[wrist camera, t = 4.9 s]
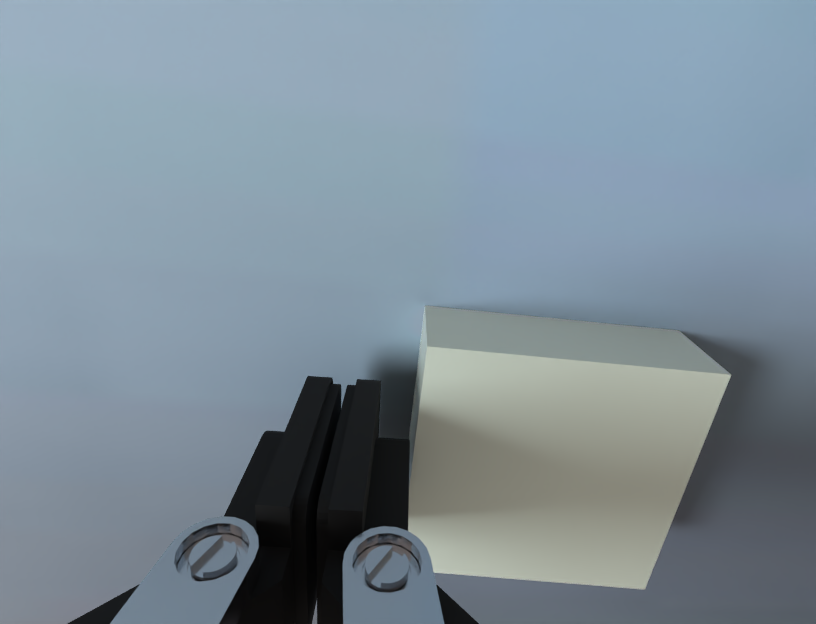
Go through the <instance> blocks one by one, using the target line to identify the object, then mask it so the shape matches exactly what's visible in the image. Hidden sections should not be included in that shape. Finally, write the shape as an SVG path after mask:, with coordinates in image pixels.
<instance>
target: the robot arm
mask: <svg viewBox="0 0 816 624" xmlns="http://www.w3.org/2000/svg"><path fill="white" fill-rule="evenodd" d="M380 391H381V381H377V380H361V379H357V382H356V385H347V389H346V393H345V397H344V400H343V404H342V408H341V384H333V379H332V378H330V377H314V376H308V377H307V379H306V381H305V384H304V386H303V389H302V391H301V394H300V396H299V398H298V401H297V403H296V406H295V408H294V411H293V413H292V415H291V418H290V420H289V423H288V425H287V428H286V430H285V432H280V431H266V432H264V434H263V435H262V437H261V439H260V441H259V444H258V446H257V448H256V450H255V452H254V454H253V456H252V458H251V460H250V463H249V465H248V467H247V469H246V471H245V473H244V475H243V477H242V479H241V482H240V484H239V486H238V488H237V490H236V492H235V494H234V496H233V498H232V500H231V503H230V505H229V507H228V509H227V511H226V513H225V515H224V516H221V517H215V518H209V519H206V520H203V521H201V522H198V523H196V524H193V525H192V526H190V527H189V528H187V529H186V530H184V531H183V532H181V533H180V534H179V535H178V536H177V537H176V538H175V539H174V541H173V542H172V543H171V544H170V545H169V547H168V548H167V549H166V551H165V552H164V553H163V554H162V556H161V557H160V558H159V560H158V561H157V562H156V564H155V565H154V566H153V568H152V569H151V570H150V572H149V573H148V574H147V576H146V577H145V578H144V579H143V581H142V582H141V583H140V584H139V585H137V586H136V587H134V588H132V589H130V590H128V591H126V592H125V593H123V594H121V595H119V596H117V597H115V598H114V599H112V600H110V601H108V602H106V603H104V604H103V605H101V606H99V607H97V608H95V609H94V610H92V611H90V612H88V613H86V614H84V615H83V616H81V617H79V618H77V619H75V620H73V621H72V622H70V623H68V624H312V620H313V615H314V610H315V605H316V600H317V624H479V623H478V622H477V621H475V620H474V619H473V618H472V617H471V616H470V615H469V614H468V613H467V612H466V611H465V610H464V609H462V608H461V607H460V606H459V605H458V604H457V603H456V602H455V601H454V600H453V599H452V598H451V597H449V596H448V595H447V594H446V593H445V592H444V591H443V590H442V589H441V588H440V587H439V586H438V585H436V581H435V576H434V572H433V567H432V562H431V557H430V555H429V552H428V550H427V547H426V546H425V545H424V544H423V542H422V541H421V540H420V539H419V538H418V537H417V536H415V535H414V534H412V533H411V532H409V531H408V510H409V464H410V440H407V439H391V438H378V433H379V412H380Z"/></svg>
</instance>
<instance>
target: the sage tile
mask: <svg viewBox="0 0 816 624" xmlns="http://www.w3.org/2000/svg"><path fill="white" fill-rule="evenodd" d="M730 377H731V374H730V373H729V372H727V371H726V370H725V369H724V368H723V367H722V366H720V365H719V364H718V363H717V362H716V361H714V360H713V359H712V358H711V357H710V356H708V355H707V354H706V353H705V352H704V351H703V350H701V349H700V348H699V347H698V346H697V345H695V344H694V343H693V342H692V341H691V340H689V339H688V338H687V337H686V336H685V335H684V334H682V333H681V332H680V331H679V330H669V329H659V328H648V327H638V326H628V325H618V324H608V323H597V322H587V321H577V320H567V319H557V318H546V317H536V316H526V315H516V314H506V313H495V312H485V311H475V310H465V309H455V308H444V307H434V306H425V308H424V317H423V325H422V333H421V342H420V350H419V358H418V366H417V375H416V383H415V391H414V400H413V408H412V416H411V425H410V433H409V440H410V464H409V510H408V531H409V532H411V533H412V534H414V535H415V536H417V537H418V538H419V539H420V540H421V541H422V542H423V544H424V545H425V546H426V547H427V550H428V552H429V555H430V557H431V562H432V567H433V572H434V573H446V574H459V575H471V576H484V577H496V578H508V579H521V580H533V581H546V582H558V583H571V584H583V585H595V586H608V587H620V588H633V589H645V588H646V585H647V583H648V580H649V578H650V575H651V573H652V570H653V568H654V565H655V563H656V560H657V558H658V555H659V553H660V550H661V548H662V545H663V543H664V540H665V538H666V536H667V533H668V531H669V528H670V526H671V523H672V521H673V518H674V516H675V513H676V511H677V508H678V506H679V503H680V501H681V498H682V496H683V493H684V491H685V488H686V486H687V484H688V481H689V479H690V476H691V474H692V471H693V469H694V466H695V464H696V461H697V459H698V456H699V454H700V451H701V449H702V446H703V444H704V441H705V439H706V436H707V434H708V432H709V429H710V427H711V424H712V422H713V419H714V417H715V414H716V412H717V409H718V407H719V404H720V402H721V399H722V397H723V394H724V392H725V389H726V387H727V384H728V382H729V380H730Z"/></svg>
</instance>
